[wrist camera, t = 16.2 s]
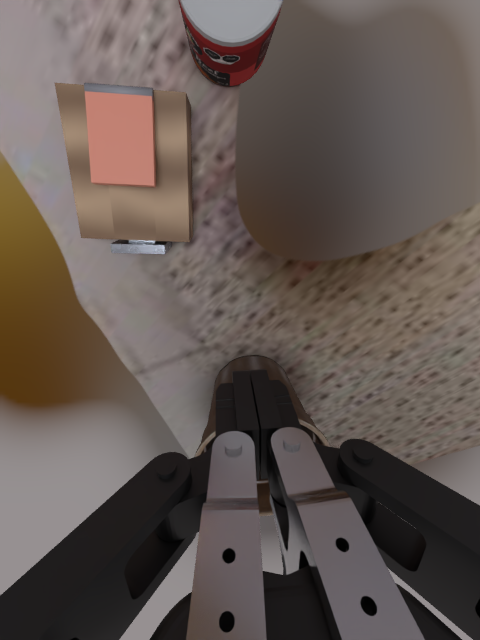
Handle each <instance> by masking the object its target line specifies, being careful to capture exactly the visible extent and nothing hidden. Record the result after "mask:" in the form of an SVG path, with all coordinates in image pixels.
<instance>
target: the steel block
mask: <svg viewBox="0 0 480 640" xmlns="http://www.w3.org/2000/svg"><path fill="white" fill-rule="evenodd" d="M171 247H172V241H148V240H121V239H119V240H117V241H115V242H113V243H111V251H112V253H141V254H166V252H167V251H168V250H169V249H170V248H171Z"/></svg>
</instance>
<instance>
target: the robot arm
mask: <svg viewBox="0 0 480 640" xmlns="http://www.w3.org/2000/svg"><path fill="white" fill-rule="evenodd" d="M259 469H260V476H261V479H268V481H269V487H270V504H271V508H272V512H273V515H274V519H275V523H276V527H277V531H278V537H279V542H280V549H281V555H282V562H283V568H284V570H283V575H280V574H275V573H270V572H265V571H262V553H261V536H260V519H259V504H258V499H257V480H259ZM380 503H381V504H380ZM383 505H384V506H385V507H384V506H383ZM387 508H388V509H387ZM390 510H391V511H390ZM394 513H395V514H394ZM397 515H398V516H397ZM400 517H401V518H402V519H401V518H400ZM404 520H405V521H404ZM407 522H408V523H407ZM410 524H411V525H412V526H411V525H410ZM414 527H415V528H414ZM197 532H199V539H198V546H197V555H196V563H195V571H194V579H193V587H192V592H191V593H189V594H188V595H187V596H185V597H184V598H183V599H182V600H180V601H179V602H178V603H177V604H176V605H175V606H174V607H173V608H172V609H171V610H170V611H169V613H168V614H167V615H166V616H165V618H164V619H163V620H162V622H161V623H160V625H159V626H158V627H157V629H156V631H155V632H154V634H153V635H152V637H151V638H150V640H462V639H461V638H460V637H459V636H457V635H456V634H455V633H454V632H453V631H452V630H451V629H450V628H448V627H447V626H446V625H445V624H444V623H443V622H442V621H441V620H440V619H438V618H437V617H436V616H435V615H434V614H433V613H432V612H431V611H430V610H428V609H427V608H426V607H425V606H424V605H423V604H422V603H421V602H420V601H418V600H417V599H416V598H415V597H414V596H413V595H411V594H410V593H409V592H408V591H406V590H405V589H404V588H402V587H401V586H400V585H398V584H396V583H395V582H394V580H393V578H392V576H391V574H390V572H389V570H388V568H389V569H390V570H391V571H392V572H394V573H395V574H396V575H397V576H398V577H399V578H400V579H402V580H403V581H404V582H405V583H406V584H408V585H409V586H410V587H411V588H412V589H414V590H415V591H416V592H417V593H418V594H419V595H421V596H422V597H423V598H424V599H425V600H427V601H428V602H429V603H430V604H431V605H433V606H434V607H435V608H436V609H437V610H438V611H440V612H441V613H442V614H443V615H444V616H446V617H447V618H448V619H449V620H450V621H452V622H453V623H454V624H455V625H456V626H458V627H459V628H460V629H461V630H462V631H463V632H465V633H466V634H467V635H468V636H469V637H471V638H472V639H473V640H480V506H479V505H478V504H476V503H474V502H472V501H471V500H469V499H467V498H466V497H464V496H462V495H460V494H459V493H457V492H455V491H453V490H452V489H450V488H448V487H447V486H445V485H443V484H441V483H439V482H438V481H436V480H434V479H432V478H431V477H429V476H427V475H426V474H424V473H422V472H420V471H418V470H417V469H415V468H414V467H412V466H410V465H408V464H407V463H405V462H403V461H401V460H400V459H398V458H396V457H394V456H393V455H391V454H389V453H388V452H386V451H384V450H382V449H381V448H379V447H377V446H375V445H374V444H372V443H370V442H367V441H365V440H361V439H350V440H347V441H345V442H343V443H342V445H341V446H340V449H338V448H333V447H328V446H323V445H320V444H317V443H315V442H313V441H312V439H311V438H310V436H309V435H308V434H307V433H306V432H304V431H303V430H302V428H301V425H300V422H299V419H298V417H297V414H296V411H295V409H294V406H293V404H292V400H291V398H290V395H289V392H288V389H287V387H286V386H285V385H284V384H283V383H282V382H281V381H280V380H269V377H268V373H267V370H266V369H258V370H250V371H249V370H242V371H232V383H221V384H220V385H219V387H218V388H217V390H216V435H215V441H214V443H213V445H212V446H211V448H210V449H209V450H207V451H206V452H205V453H203V454H201V455H199V456H197V457H194V458H191V459H187V458H186V457H185V456H184V455H182V454H180V453H176V452H168V453H164V454H161V455H159V456H157V457H155V458H154V459H153V460H152V461H150V462H149V463H148V464H147V465H146V466H145V467H144V468H143V469H142V470H140V471H139V472H138V473H137V474H136V475H135V476H134V477H133V478H131V479H130V480H129V481H128V482H127V483H126V484H125V485H124V486H122V487H121V488H120V489H119V490H118V491H117V492H116V493H115V494H114V495H112V496H111V497H110V498H109V499H108V500H107V501H106V502H105V503H103V504H102V505H101V506H100V507H99V508H98V509H97V510H96V511H95V512H93V513H92V514H91V515H90V516H89V517H88V518H87V519H86V520H85V521H83V522H82V523H81V524H80V525H79V526H78V527H77V528H76V529H74V530H73V531H72V532H71V533H70V534H69V535H68V536H67V537H65V538H64V539H63V540H62V541H61V542H60V543H59V544H58V545H57V546H55V547H54V549H52V550H51V551H50V552H49V553H48V554H46V555H45V556H44V557H43V558H42V559H41V560H40V561H39V562H38V563H36V565H34V566H33V567H32V568H31V569H30V570H29V571H27V572H26V573H25V574H24V575H23V576H22V577H21V578H20V579H18V580H17V581H16V582H15V583H14V584H13V585H12V586H11V587H10V588H8V589H7V590H6V591H5V592H4V593H3V594H2V595H1V596H0V640H119V639H120V638H121V636H122V635H123V634H124V632H125V631H126V630H127V628H128V627H129V625H130V624H131V623H132V622H133V620H134V619H135V617H136V616H137V615H138V614H139V612H140V611H141V610H142V608H143V607H144V605H145V604H146V603H147V601H148V600H149V599H150V597H151V596H152V595H153V593H154V592H155V591H156V589H157V588H158V587H159V585H160V584H161V582H162V581H163V580H164V579H165V577H166V576H167V575H168V573H169V572H170V571H171V569H172V568H173V566H174V565H175V564H176V563H177V561H178V560H179V559H180V557H181V556H182V554H183V553H184V552H185V550H186V549H187V548H188V546H189V545H190V544H191V542H192V541H193V539H194V538H195V536H196V533H197Z"/></svg>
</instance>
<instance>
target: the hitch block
mask: <svg viewBox="0 0 480 640" xmlns="http://www.w3.org/2000/svg"><path fill="white" fill-rule="evenodd" d="M55 87H56V93H57V98H58V104H59V110H60V116H61V122H62V128H63V134H64V139H65V145H66V151H67V157H68V163H69V169H70V174H71V180H72V186H73V192H74V198H75V204H76V210H77V215H78V221H79V227H80V233H81V238H95V239H121V240H148V241H174V242H190V240H191V239H192V237H193V211H192V157H191V105H190V102H189V100H188V97H187V94H186V92H173V91H159V90H153V92H154V124H155V163H156V187H137V186H117V185H97V184H93V183H91V172H90V158H89V143H88V129H87V115H86V101H85V90H84V85H78V84H64V83H55Z"/></svg>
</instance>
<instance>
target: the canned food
mask: <svg viewBox="0 0 480 640" xmlns="http://www.w3.org/2000/svg"><path fill="white" fill-rule="evenodd" d="M282 3H283V0H179V4H180V8H181V12H182V17H183V21H184V25H185V29H186V33H187V38H188V42H189V46H190V50H191V53H192V56H193V59H194V61H195V63H196V65H197V67H198V68H199V69H200V71H201V72H202V73H203V74H204V75H205V76H206V77H207V78H208V79H209V80H211V81H213V82H214V83H217V84H220V85H223V86H234V85H239V84H241V83H244V82H245V81H247V80H248V79H250V78H251V77H252V76H253V75H254V74H255V73H256V72H257V70H258V69H259V67H260V66H261V64H262V62H263V60H264V57H265V55H266V52H267V49H268V46H269V43H270V40H271V37H272V34H273V31H274V28H275V25H276V22H277V19H278V16H279V13H280V10H281V6H282Z"/></svg>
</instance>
